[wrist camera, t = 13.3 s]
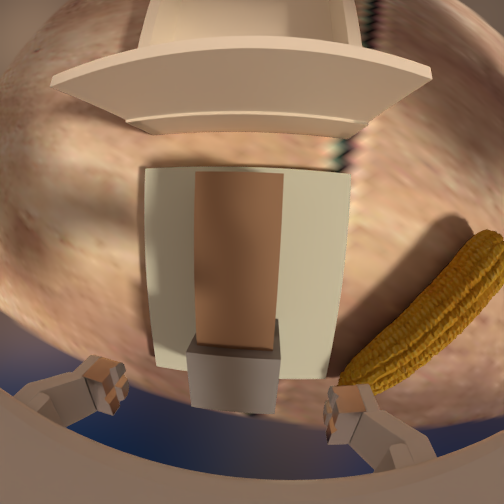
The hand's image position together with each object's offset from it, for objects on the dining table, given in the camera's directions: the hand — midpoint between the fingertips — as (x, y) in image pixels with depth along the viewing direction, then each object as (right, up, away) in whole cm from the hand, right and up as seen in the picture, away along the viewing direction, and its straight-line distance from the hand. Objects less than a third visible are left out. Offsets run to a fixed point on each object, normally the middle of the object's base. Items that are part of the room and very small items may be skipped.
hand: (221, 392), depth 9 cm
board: (0, +3, +13) cm, 14 cm away
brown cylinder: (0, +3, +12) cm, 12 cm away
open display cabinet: (+1, +26, +9) cm, 27 cm away
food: (+18, 0, +13) cm, 22 cm away
